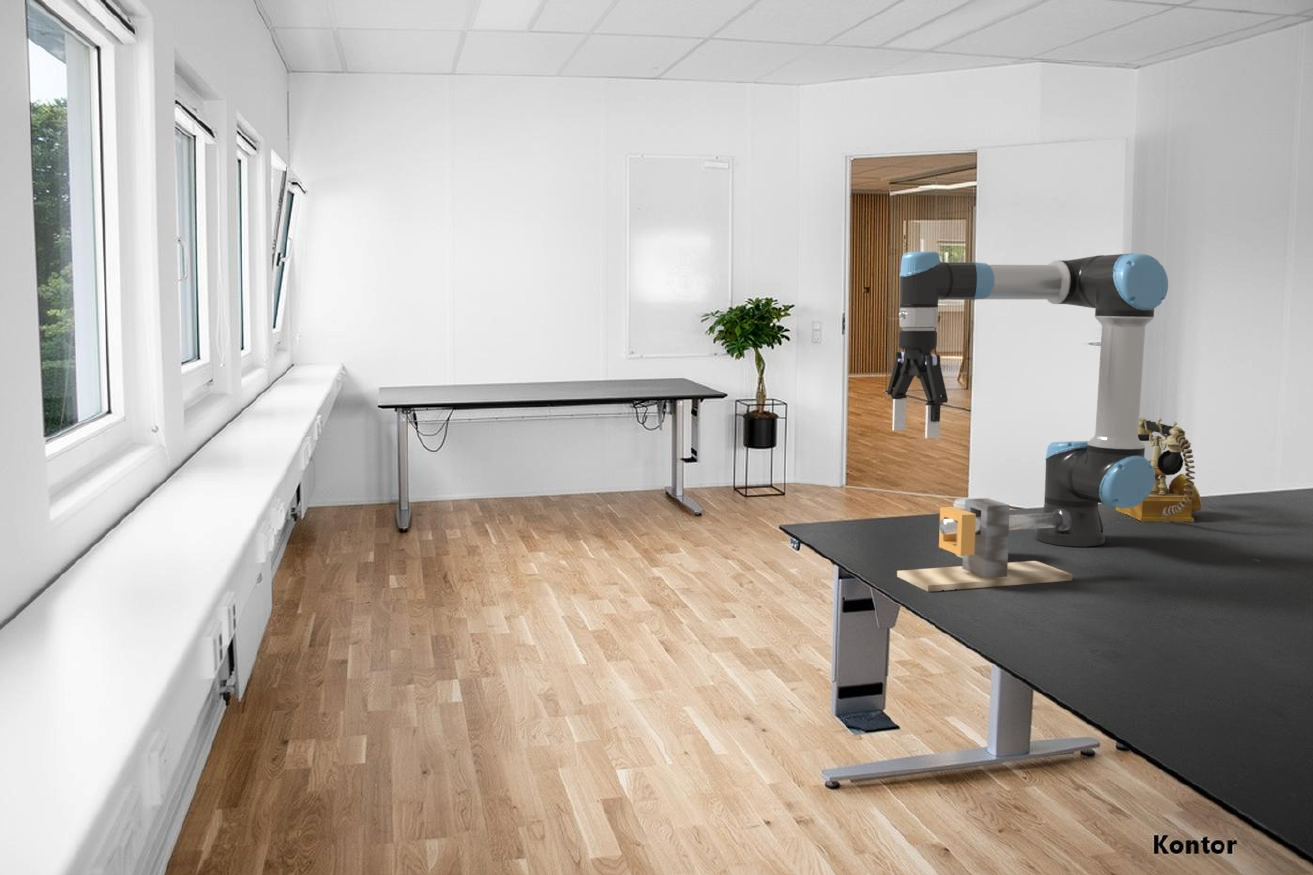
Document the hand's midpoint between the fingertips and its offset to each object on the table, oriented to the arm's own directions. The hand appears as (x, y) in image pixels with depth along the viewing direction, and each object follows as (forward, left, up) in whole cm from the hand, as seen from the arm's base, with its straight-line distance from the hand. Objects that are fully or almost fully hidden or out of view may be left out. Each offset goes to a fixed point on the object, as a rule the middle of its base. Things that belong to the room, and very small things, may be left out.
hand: (915, 434), depth 226 cm
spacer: (-3, +12, -22) cm, 25 cm away
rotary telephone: (-88, -28, -28) cm, 97 cm away
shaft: (-14, +12, -19) cm, 26 cm away
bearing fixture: (-9, +12, -28) cm, 32 cm away
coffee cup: (-18, -6, -28) cm, 34 cm away
